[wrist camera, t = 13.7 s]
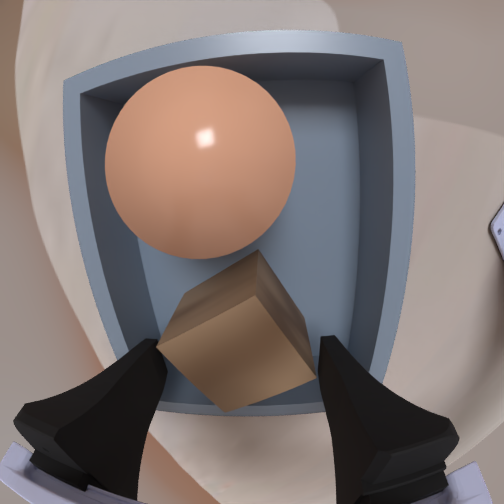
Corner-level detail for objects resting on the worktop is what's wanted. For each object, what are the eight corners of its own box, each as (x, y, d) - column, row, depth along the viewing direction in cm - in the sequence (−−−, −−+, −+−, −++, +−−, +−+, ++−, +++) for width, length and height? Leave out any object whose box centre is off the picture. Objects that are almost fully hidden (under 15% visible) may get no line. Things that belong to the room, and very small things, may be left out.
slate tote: (115, 95, 13) (63, 80, 8) (362, 71, 12) (401, 42, 7) (162, 358, 19) (140, 407, 14) (356, 352, 18) (375, 403, 13)
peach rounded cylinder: (303, 160, 13) (338, 168, 6) (229, 227, 14) (194, 293, 8) (232, 88, 12) (196, 32, 5) (162, 158, 13) (77, 170, 7)
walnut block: (304, 317, 16) (316, 377, 11) (234, 352, 17) (224, 412, 12) (258, 248, 15) (255, 295, 10) (184, 293, 16) (156, 346, 11)
